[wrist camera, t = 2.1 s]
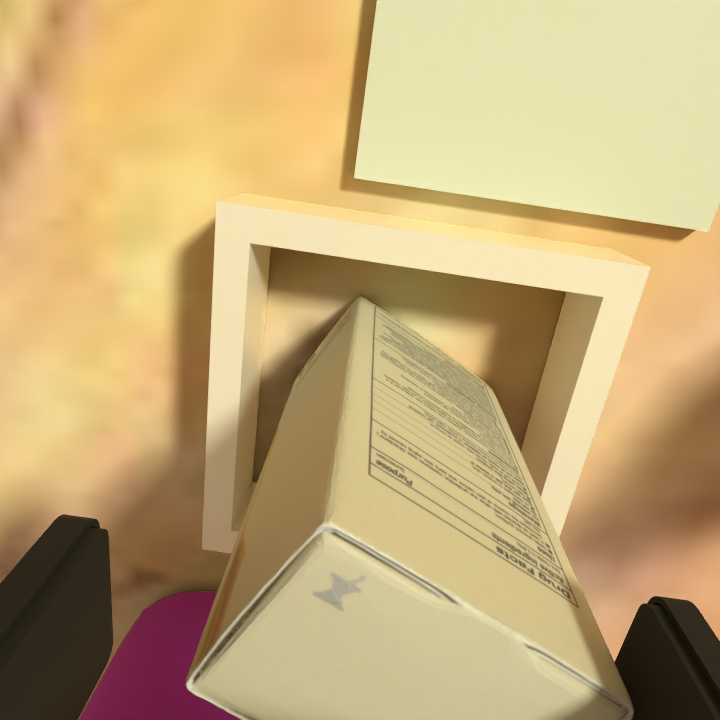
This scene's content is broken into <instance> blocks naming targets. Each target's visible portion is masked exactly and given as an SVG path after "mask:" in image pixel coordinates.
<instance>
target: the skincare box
mask: <svg viewBox="0 0 720 720" xmlns="http://www.w3.org/2000/svg"><path fill="white" fill-rule="evenodd" d="M186 687H187V689H188V690H189V691H190V692H192V693H193V694H195V695H197V696H199V697H201V698H203V699H205V700H207V701H209V702H211V703H213V704H214V705H216V706H217V707H219V708H221V709H224V710H225V711H227V712H228V713H230V714H232V715H234V716H236V717H238V718H240V719H241V720H631V719H632V718H633V714H634V708H633V705H632V702H631V699H630V696H629V694H628V692H627V690H626V687H625V685H624V683H623V681H622V678H621V676H620V674H619V672H618V670H617V667H616V665H615V663H614V661H613V658H612V656H611V654H610V652H609V649H608V647H607V645H606V643H605V641H604V638H603V636H602V634H601V632H600V629H599V627H598V625H597V623H596V620H595V618H594V616H593V614H592V612H591V609H590V607H589V605H588V603H587V600H586V598H585V596H584V594H583V591H582V589H581V587H580V585H579V583H578V580H577V578H576V576H575V574H574V571H573V569H572V567H571V565H570V562H569V560H568V558H567V555H566V553H565V551H564V549H563V546H562V544H561V542H560V540H559V537H558V535H557V533H556V531H555V528H554V526H553V524H552V522H551V519H550V517H549V515H548V513H547V510H546V508H545V506H544V504H543V501H542V499H541V497H540V495H539V493H538V490H537V488H536V486H535V484H534V481H533V479H532V477H531V475H530V472H529V470H528V468H527V466H526V463H525V461H524V459H523V456H522V454H521V452H520V450H519V447H518V445H517V443H516V441H515V439H514V436H513V434H512V432H511V430H510V427H509V425H508V423H507V420H506V418H505V416H504V414H503V411H502V409H501V407H500V405H499V402H498V400H497V398H496V395H495V393H494V391H493V389H492V388H491V387H490V386H489V385H488V384H486V383H485V382H484V381H483V380H481V379H480V378H479V377H477V376H476V375H475V374H474V373H472V372H471V371H470V370H468V369H467V368H465V367H464V366H463V365H462V364H460V363H459V362H457V361H456V360H455V359H453V358H452V357H451V356H449V355H448V354H446V353H445V352H444V351H442V350H441V349H440V348H438V347H437V346H435V345H434V344H432V343H431V342H430V341H428V340H427V339H425V338H424V337H422V336H421V335H420V334H418V333H417V332H415V331H414V330H412V329H411V328H410V327H408V326H407V325H405V324H404V323H402V322H401V321H399V320H398V319H396V318H395V317H393V316H392V315H390V314H389V313H387V312H386V311H384V310H383V309H381V308H380V307H378V306H377V305H375V304H373V303H372V302H370V301H369V300H368V299H366V298H364V297H362V296H359V297H357V298H356V300H355V301H354V302H353V303H352V304H351V306H350V307H349V308H348V309H347V311H346V312H345V313H344V314H343V316H342V317H341V318H340V319H339V321H338V322H337V323H336V325H335V326H334V327H333V328H332V330H331V331H330V332H329V333H328V335H327V336H326V337H325V339H324V340H323V341H322V343H321V344H320V345H319V347H318V348H317V349H316V351H315V352H314V353H313V355H312V356H311V358H310V359H309V360H308V362H307V363H306V365H305V366H304V368H303V369H302V371H301V372H300V374H299V375H298V377H297V378H296V380H295V381H294V384H293V387H292V390H291V392H290V395H289V397H288V400H287V403H286V405H285V408H284V411H283V413H282V416H281V419H280V422H279V424H278V427H277V430H276V433H275V436H274V438H273V441H272V444H271V446H270V449H269V452H268V455H267V458H266V460H265V463H264V466H263V468H262V471H261V474H260V476H259V479H258V482H257V485H256V487H255V490H254V492H253V495H252V498H251V501H250V503H249V506H248V508H247V511H246V514H245V517H244V520H243V522H242V525H241V528H240V531H239V533H238V536H237V539H236V542H235V544H234V547H233V550H232V553H231V555H230V558H229V561H228V563H227V566H226V569H225V572H224V575H223V578H222V581H221V583H220V586H219V589H218V592H217V594H216V597H215V600H214V603H213V605H212V608H211V611H210V614H209V617H208V620H207V623H206V625H205V628H204V631H203V633H202V636H201V639H200V642H199V645H198V648H197V651H196V654H195V657H194V659H193V662H192V665H191V667H190V670H189V673H188V676H187V678H186Z"/></svg>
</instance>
